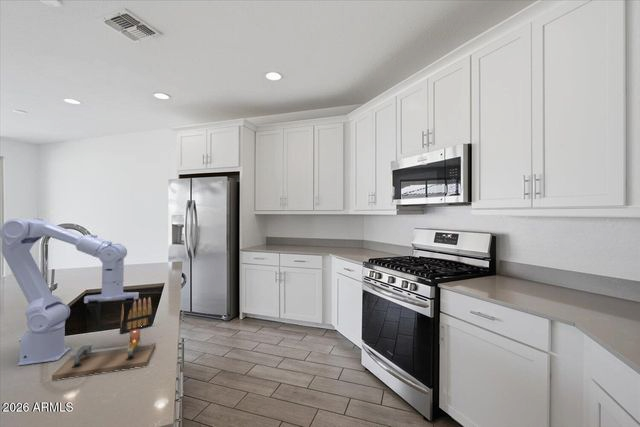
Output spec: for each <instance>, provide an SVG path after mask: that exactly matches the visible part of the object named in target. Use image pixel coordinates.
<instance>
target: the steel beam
mask: <svg viewBox="0 0 640 427" xmlns="http://www.w3.org/2000/svg"><path fill="white" fill-rule="evenodd" d="M152 343H153V342H147V343H140V345H139V346H138V347H137V348H134V349H133V352H136V351H144V350H151V348H152ZM128 347H129V345H124V346H122V345H121V346H116V347H109V348H100V349H91V351H90V352H89V353H88V354H87V355H83V356H81V357H80V359H83V358H91V357H99V356H106V355H114V354H121V353H128ZM76 354H77V351H76V352H71V353H70V354H69V358H68V360H73V357H74V356H75V355H76Z"/></svg>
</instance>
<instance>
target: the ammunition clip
mask: <svg viewBox="0 0 640 427" xmlns="http://www.w3.org/2000/svg"><path fill="white" fill-rule="evenodd" d="M136 300H137V299H135V301H134V303H133V305H132V308H131V310H130V312H129V316H128V320H127V322H123V317H124V308H123V303H122V305H121V313H120V323H119V334H120V335H125V334H128V333H129V334H130V331H131V330H133V329H140V330H143V329H147V328H150V327H153V316H152V315H153V314H152V300H151V297H150V296H149V297H148V298H147V299H146V297H144V298H143V300H142V299H141V298H138V302H137V301H136ZM141 326H142V327H141Z"/></svg>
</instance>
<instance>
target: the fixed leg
mask: <svg viewBox="0 0 640 427" xmlns="http://www.w3.org/2000/svg"><path fill="white" fill-rule="evenodd" d="M92 347H93V346H92V344H88V345H81V346H80V348H78V349H77V350H76V352H77V354H76V355H75V356H74V357H73V360H74V367H78V366H79V363H80V357H81V356H83V355H87V354H88V353H89V352H90V351H91V350H93V349H92Z"/></svg>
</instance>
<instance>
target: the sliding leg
mask: <svg viewBox="0 0 640 427" xmlns="http://www.w3.org/2000/svg"><path fill="white" fill-rule="evenodd" d="M140 344H141V329H133V330H131V331H130V332H129V342H128V346H129V347H128V359H130V358H132V357H133V349H134V348H137V347H138V346H139V345H140Z"/></svg>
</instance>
